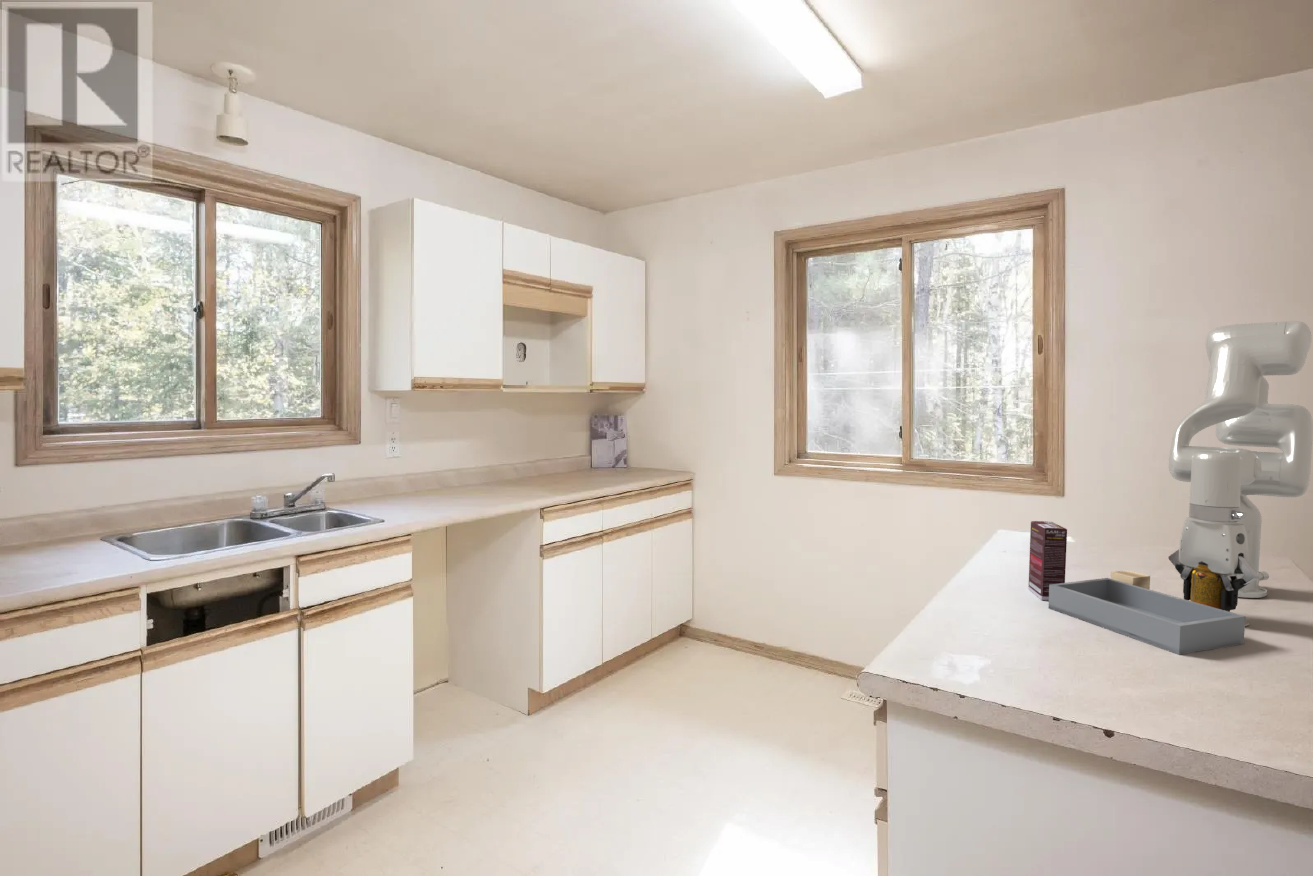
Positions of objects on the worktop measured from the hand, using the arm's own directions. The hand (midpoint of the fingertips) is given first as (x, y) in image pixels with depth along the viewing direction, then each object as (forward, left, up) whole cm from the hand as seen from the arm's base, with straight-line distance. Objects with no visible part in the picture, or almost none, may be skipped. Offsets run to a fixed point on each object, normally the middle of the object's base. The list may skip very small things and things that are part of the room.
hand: (1209, 603), depth 131 cm
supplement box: (+17, -22, -3) cm, 28 cm away
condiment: (0, +1, -3) cm, 4 cm away
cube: (0, -16, -3) cm, 16 cm away
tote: (+16, -2, -3) cm, 16 cm away
